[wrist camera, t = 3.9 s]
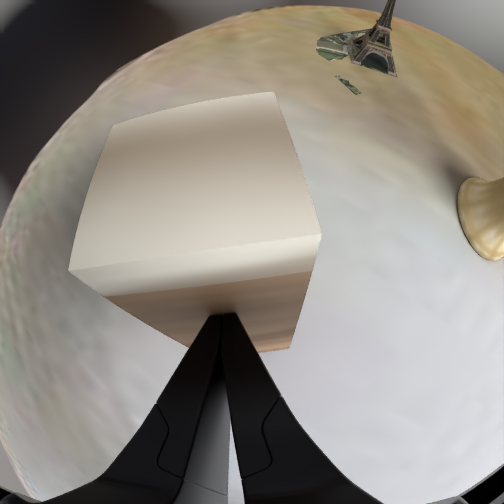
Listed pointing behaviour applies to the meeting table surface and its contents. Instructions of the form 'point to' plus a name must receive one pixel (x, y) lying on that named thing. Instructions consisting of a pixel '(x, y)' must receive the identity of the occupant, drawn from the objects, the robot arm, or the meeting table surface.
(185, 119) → the wooden block
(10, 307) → the meeting table surface
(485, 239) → the hand bell
